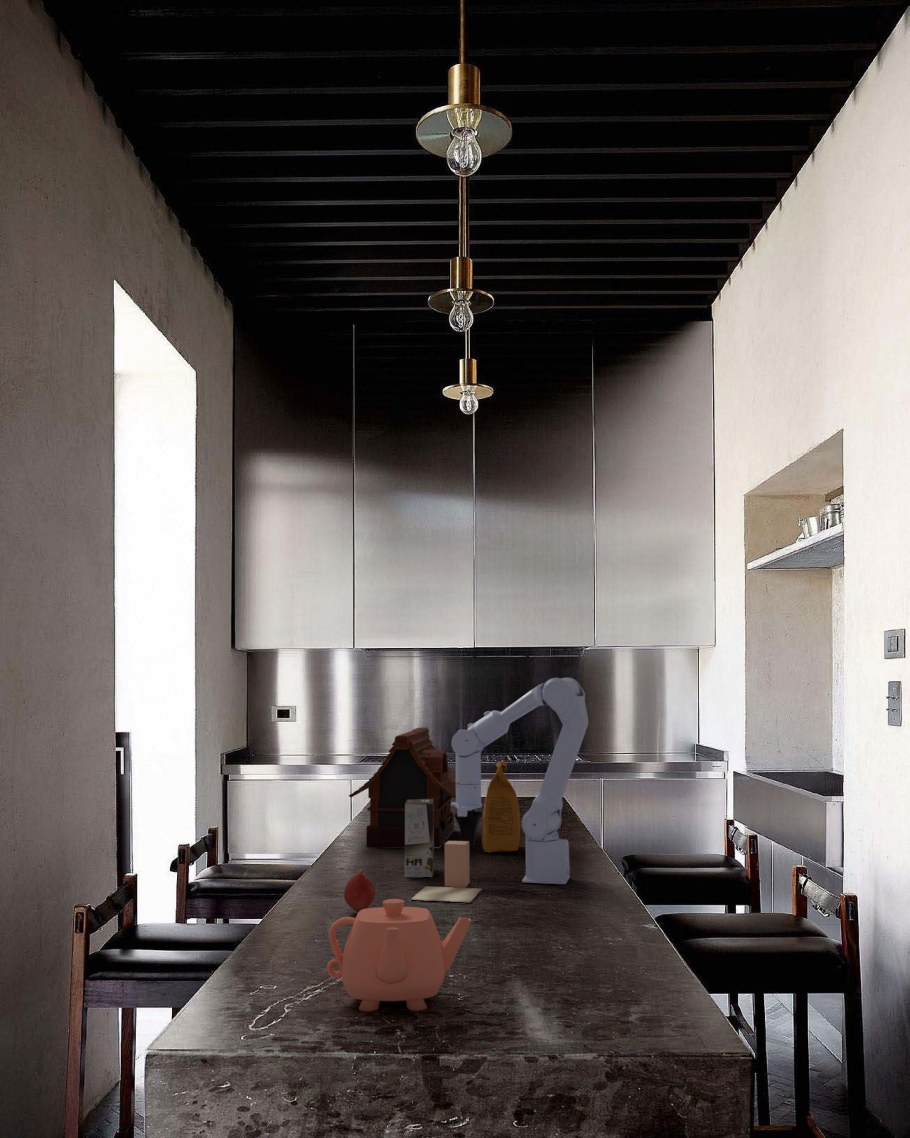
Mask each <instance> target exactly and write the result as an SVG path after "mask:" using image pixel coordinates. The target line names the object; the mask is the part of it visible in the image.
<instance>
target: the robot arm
mask: <svg viewBox="0 0 910 1138" xmlns="http://www.w3.org/2000/svg"><path fill="white" fill-rule="evenodd" d="M585 700H586V693H585V691H584V689H583V688H582V686H581V685H580V683H579V682H578V681H577V680H576V679H574V678H572V677H562V678H559V677H551V678H550V679H548V680H547V681H545V682H544V683H540V684H538V685H537V686H535V687H534V688H532V689H531V690H529V691H528V692H527V693H525V694H524V695H523V696H521V697H519V698H518V699H517V700H516V701H514V702H513V703H512V704H510V705H508V706H507V707H506V708H505V709H503V710H502V711H499V710H492V711H491V710H487V711H485V712H484V713H483V715H484V716H483V717H482V718H480V719H478V720H477V721H475V722H474V723H473V722H470V723H468V724H467V729H459V730H458V731H456V733H455V734H454V735H453V736H452V738H451V748H452V751H453V752H454V753H455V773H456V799H455V802H454V801H453V802H451V808H452V807H454V808H456V809H457V810H456V811H457V812H455V813H454V819H455V820H456V822H457V825H458V827H459V830H460V834H461V839H462V840H461V841H469V847H472V846H474V845H475V841H476V836H477V830H478V826H479V823H480V820H481V818H482V817H483V811H480V810H479V811H478V810H477V809H481V808H482V807H483V803H482V762H481V759H482V758H481V753H482V752H483V750H484V748H485V747H487V746H488V745H490V744H491V743H493V742H494V741H496V740H497V739H499V738H501V737H503V736H504V735H505V734H507V733H508V732H509V728H510V725H511V723H513V722H515V721H516V720H518V719H520V718H521V717H523V716H524V715H526V714H528V713H530V712H531V711H533V710H534V709H536V708H538V707H541V706H548V707H550V708H551V709H552V710H553V712H555V713H556V715H557V717H558V718H559V720H560V722H561V723H562V727H561V728H560V729H561V730H560V733H559V736H558V738H557V741H556V744H555V746H554V749H553V752H552V755H551V759H550V761H549V763H548V766H547V770H546V772H545V775H544V778H543V781H542V784H541V787H540V789H539V792H538V793H537V795H536V796H535V798H534V799H533V801H532V803H531V806H530V808H529V809H528V810H527V811H526V812H525V813H524V814H523V816H522V819H521V828H522V831H523V833H524V834H525V876H524V877H523V878H522V880H521V882H522V883H527V884H528V883H529V884H549V885H550V884H553V885H566V884H567V883H568V881H569V879H570V878H571V876H570V874H571V867H570V847H569V845H570V844H569V841H568V839H565V838H564V839H562V838H560V837H559V836H560V835H559V833H558V830H559V829H560V827H561V824H562V820H563V819H562V809H563V806H564V804H563V797H564V794H565V791H566V788H567V786H568V783H569V780H570V777H571V775H572V771H573V768H574V765H575V763H576V760H577V758H578V755H579V751H580V749H581V746H582V743H583V741H584V737H585V735H586V731H587V729H588V725H589V717H588V716H589V715H588V710H587V707H586V701H585ZM476 810H477V811H476Z"/></svg>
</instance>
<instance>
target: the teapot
mask: <svg viewBox="0 0 910 1138" xmlns="http://www.w3.org/2000/svg"><path fill="white" fill-rule="evenodd" d="M382 905H383V906H381V907H378V906H377V907H367V908H366V909H362V910H361V911H360V912H358V913H357V915H356V916H355V917H352V916H343V917H340V918H338V919H337V920H335V921H334V922H333V923H332V924H331V925H330V927H329V930H328V941H329V944H330V947H331V949H332V950H331V951H332V953H333V956H334V957H335V958H332V959H331V960H330V961H328V963H327V965H326V972H327V974H328V976H329V977H331V978H332V979H341V980H342V984H343V987H344V989H345V990H346V993H347V994H348V996H349V997H350V998H352V999H356V1000H362V1001H361V1002H360V1005H358V1010H359V1011H361V1012H374V1011H377V1010H379V1008H380V1002H401V1001H405V1003H406V1007H407V1009H408V1010H410V1011H417V1012H419V1011H424V1010H425V1009H428V1006H427V1004H426V1002H425V999H429V998H432V997H435V996H436V995H437V994H438V992H439V990H440V989H441V986H442V985H443V982H444V978H445V975H446V972H449V971H450V969H451V966H452V964H453V963H454V960H455V958H456V957H457V954H458V952H459V949H460V947H461V945H462V943H463V941H464V939H465V937H466V935H467V933H468V930H469V928H470V926H471V924H472V919H471V918H470V917H458V919H457V921H456V922H455V924H454V925H453V926H452V928H451V930H450V931H449V933H448V934H447V935H446V937H445V939H444V940H443V941H441V937H440V935H439V931H438V928H437V926H436V924H435V921H434V918H433V916H432V914H431V912H430V911H429V909H428V908H425V907H419V906H418V907H417V906H416V907H415V906H405V900H403V899H400V898H391V899H390V898H388V899H385V900H383V901H382ZM343 925H351V929H350V931H349V933H348V936H347V939H346V942H345V945H344V950H343V954H342V951H341V949H340V946H339V944H338V940H337V929H338V928H339V927H341V926H343ZM334 965H338V970H335V969H334V968H333V967H334Z"/></svg>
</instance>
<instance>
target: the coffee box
mask: <svg viewBox="0 0 910 1138" xmlns="http://www.w3.org/2000/svg"><path fill="white" fill-rule="evenodd" d="M434 868H435V849H434V799H415V800H407V801H406V803H405V848H404V878H423V877H431V878H433V876H434V875H433V874H434V870H435V869H434Z"/></svg>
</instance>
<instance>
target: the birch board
mask: <svg viewBox="0 0 910 1138" xmlns="http://www.w3.org/2000/svg"><path fill="white" fill-rule="evenodd" d="M481 890H482V891H483V889H482V888H476V887H475V888H474V887H473V888H472V887H467V888H454V887H445V886H428V885H427V886H424V887H423V888H422V889H421V890H420V891H419V892H417V893H416V894H415V895H414V896H413V897H411V899H410V901H411V900H424V901H450V902H471V901H472V900H473V899H474V898H475V897H476V896H477V894H478V893H479V892H480V891H481ZM482 891H481V892H482ZM481 892H480V893H481ZM480 893H479V894H480ZM477 897H478V896H477ZM477 897H476V898H477ZM476 898H475V899H476ZM475 899H474V900H475ZM474 900H473V901H474ZM473 901H472V902H473Z"/></svg>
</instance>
